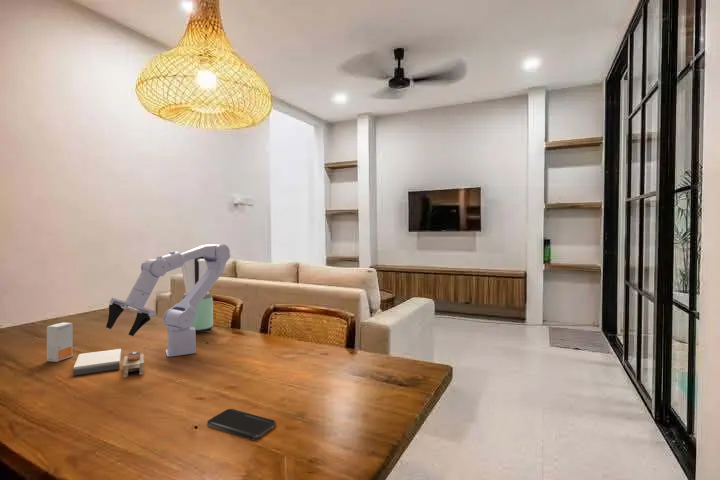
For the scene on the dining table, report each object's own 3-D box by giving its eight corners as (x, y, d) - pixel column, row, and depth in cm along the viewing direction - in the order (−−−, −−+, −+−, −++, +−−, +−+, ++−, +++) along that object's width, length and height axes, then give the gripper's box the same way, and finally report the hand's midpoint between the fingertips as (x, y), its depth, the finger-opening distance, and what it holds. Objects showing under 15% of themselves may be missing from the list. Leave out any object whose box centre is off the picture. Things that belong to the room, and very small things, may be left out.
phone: (255, 437, 84) (205, 421, 91) (255, 442, 84) (205, 426, 91) (278, 421, 91) (229, 407, 98) (278, 426, 91) (229, 412, 98)
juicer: (176, 329, 173) (175, 250, 172) (207, 324, 181) (207, 250, 180) (186, 339, 158) (186, 253, 157) (220, 334, 166) (220, 252, 165)
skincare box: (56, 362, 130) (56, 327, 130) (46, 361, 131) (45, 326, 131) (73, 356, 136) (73, 322, 136) (63, 355, 137) (62, 321, 137)
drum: (140, 357, 126) (140, 350, 126) (140, 360, 123) (140, 353, 123) (127, 358, 125) (127, 352, 124) (127, 362, 121) (127, 355, 121)
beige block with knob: (143, 364, 130) (143, 353, 130) (144, 374, 121) (143, 362, 121) (124, 366, 127) (124, 356, 127) (123, 377, 118) (123, 365, 118)
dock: (121, 355, 138) (120, 348, 138) (119, 369, 125) (119, 361, 125) (79, 361, 132) (79, 353, 132) (73, 376, 119) (73, 368, 119)
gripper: (114, 282, 126) (91, 322, 121) (156, 295, 125) (135, 336, 120) (124, 288, 132) (103, 326, 127) (164, 301, 132) (144, 340, 127)
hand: (119, 331), depth 124 cm, fingers open, 7 cm apart
